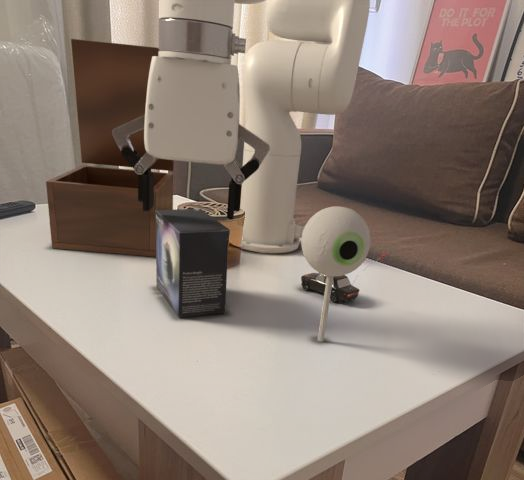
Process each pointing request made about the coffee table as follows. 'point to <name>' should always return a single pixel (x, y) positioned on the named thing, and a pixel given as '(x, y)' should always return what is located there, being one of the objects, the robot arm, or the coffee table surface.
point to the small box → (191, 261)
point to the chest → (105, 210)
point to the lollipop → (334, 247)
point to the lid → (111, 98)
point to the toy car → (339, 285)
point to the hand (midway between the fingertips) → (189, 213)
